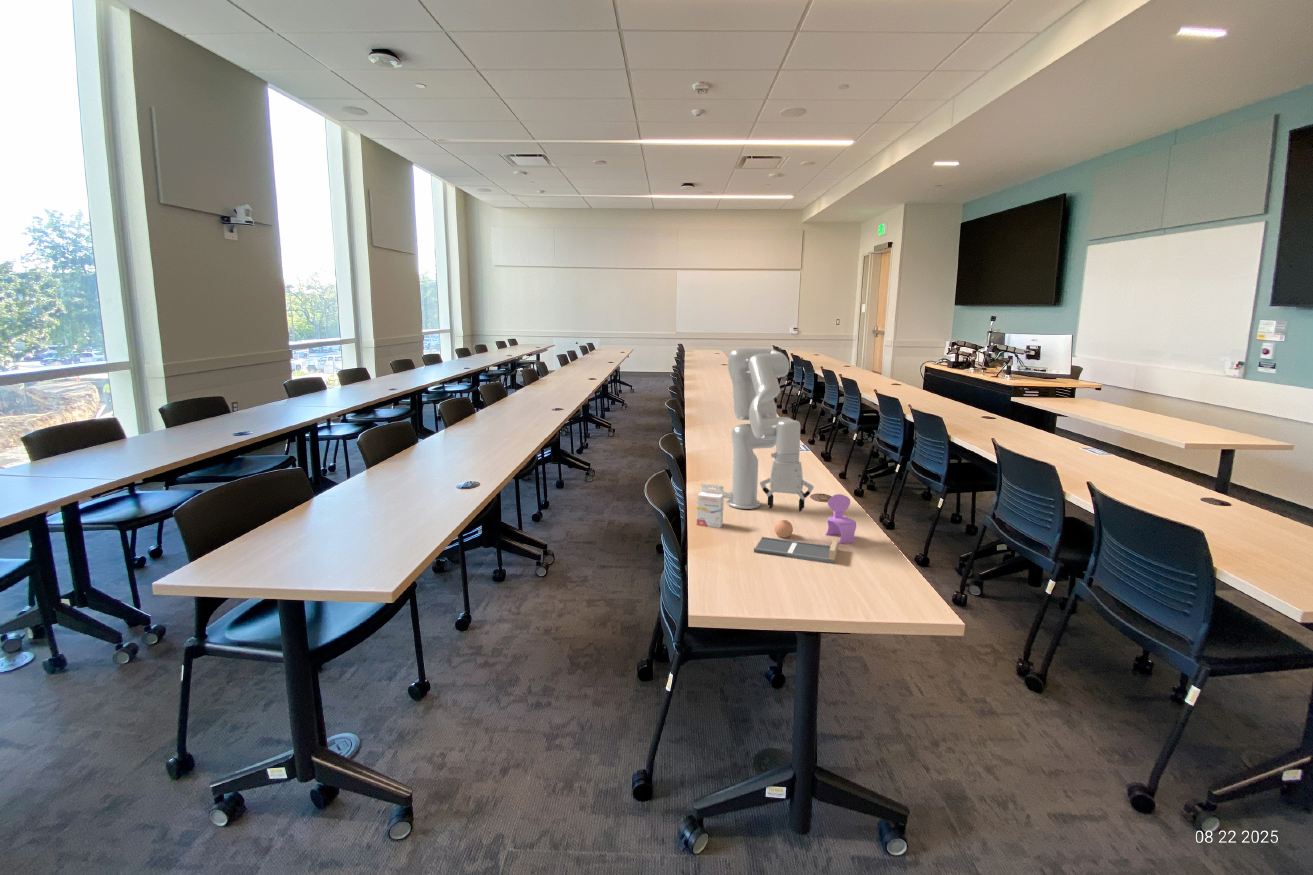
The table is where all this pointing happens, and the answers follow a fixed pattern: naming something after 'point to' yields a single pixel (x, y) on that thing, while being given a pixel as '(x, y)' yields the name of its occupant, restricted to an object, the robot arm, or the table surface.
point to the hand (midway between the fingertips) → (785, 508)
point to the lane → (798, 549)
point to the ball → (783, 528)
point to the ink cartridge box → (710, 506)
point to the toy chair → (840, 519)
